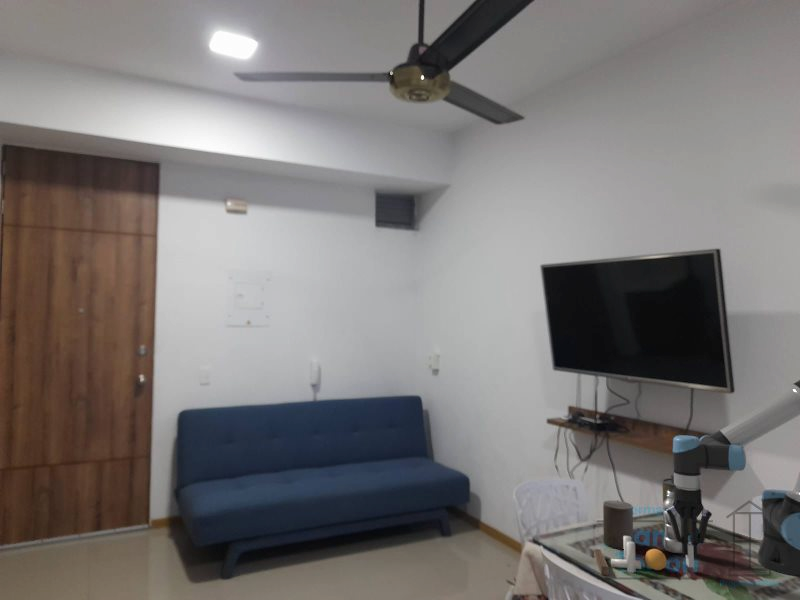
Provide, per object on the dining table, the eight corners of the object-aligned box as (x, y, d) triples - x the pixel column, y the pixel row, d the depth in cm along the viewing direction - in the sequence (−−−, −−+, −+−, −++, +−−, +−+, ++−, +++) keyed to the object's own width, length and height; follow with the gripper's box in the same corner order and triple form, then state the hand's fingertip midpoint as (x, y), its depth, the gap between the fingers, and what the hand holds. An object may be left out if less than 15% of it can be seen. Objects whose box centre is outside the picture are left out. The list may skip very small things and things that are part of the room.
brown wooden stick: (600, 557, 184) (600, 549, 185) (608, 575, 171) (608, 566, 171) (594, 556, 185) (594, 549, 185) (601, 574, 171) (601, 566, 171)
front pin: (639, 559, 177) (610, 557, 178) (641, 562, 174) (612, 560, 176) (639, 567, 177) (610, 565, 178) (641, 570, 174) (612, 568, 176)
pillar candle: (603, 547, 193) (603, 503, 193) (603, 537, 202) (602, 495, 203) (634, 551, 190) (634, 506, 190) (632, 541, 199) (632, 497, 200)
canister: (687, 536, 203) (685, 479, 204) (658, 528, 211) (656, 474, 212) (699, 529, 211) (697, 474, 212) (670, 522, 218) (668, 469, 219)
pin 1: (631, 563, 180) (630, 535, 180) (632, 566, 177) (632, 538, 178) (623, 562, 180) (622, 535, 180) (624, 565, 178) (624, 538, 178)
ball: (639, 556, 179) (655, 569, 178) (643, 563, 173) (660, 577, 172) (651, 541, 178) (667, 555, 177) (656, 548, 172) (673, 563, 171)
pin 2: (634, 569, 175) (633, 541, 175) (636, 573, 172) (635, 544, 173) (626, 569, 175) (625, 541, 176) (628, 572, 173) (627, 543, 173)
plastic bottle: (688, 556, 185) (686, 494, 186) (666, 555, 186) (664, 493, 187) (682, 549, 191) (681, 488, 192) (661, 547, 192) (659, 487, 194)
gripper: (706, 484, 177) (708, 562, 176) (661, 483, 179) (663, 559, 178) (714, 491, 170) (717, 572, 168) (668, 489, 172) (670, 569, 171)
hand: (690, 565), depth 173 cm, fingers closed
